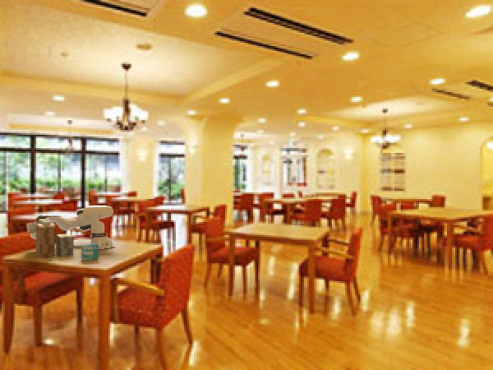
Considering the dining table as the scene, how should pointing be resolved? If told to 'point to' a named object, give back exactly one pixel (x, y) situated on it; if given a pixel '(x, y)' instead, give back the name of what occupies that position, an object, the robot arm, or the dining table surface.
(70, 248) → the grey marbled block
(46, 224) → the sanding stick
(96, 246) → the data package
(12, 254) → the dining table surface
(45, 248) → the tall stand
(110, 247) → the robot arm
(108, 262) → the dining table surface
